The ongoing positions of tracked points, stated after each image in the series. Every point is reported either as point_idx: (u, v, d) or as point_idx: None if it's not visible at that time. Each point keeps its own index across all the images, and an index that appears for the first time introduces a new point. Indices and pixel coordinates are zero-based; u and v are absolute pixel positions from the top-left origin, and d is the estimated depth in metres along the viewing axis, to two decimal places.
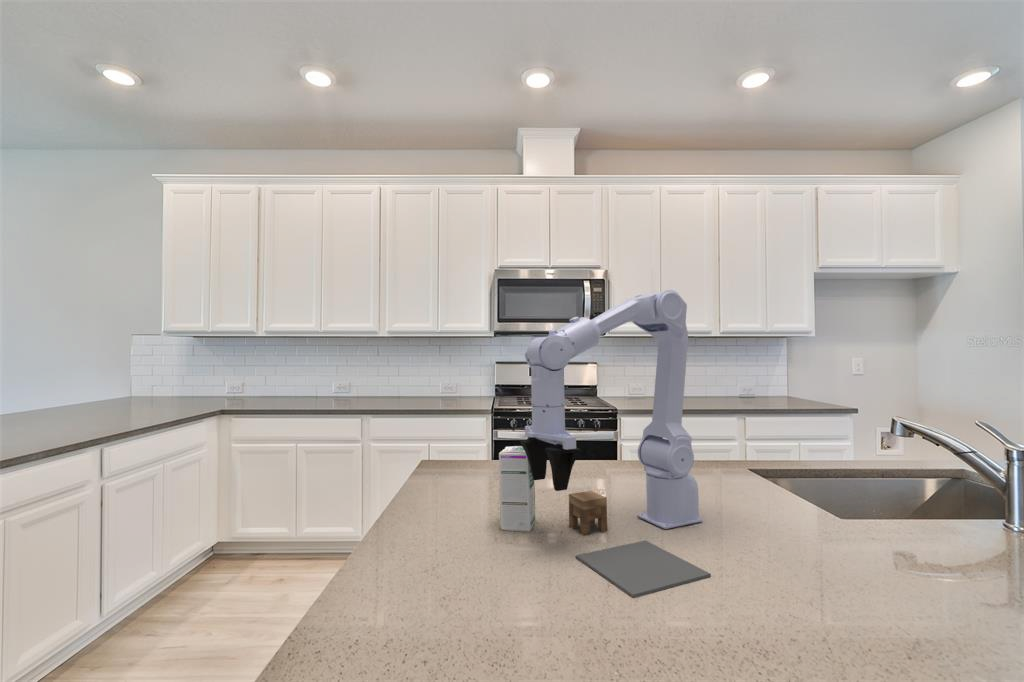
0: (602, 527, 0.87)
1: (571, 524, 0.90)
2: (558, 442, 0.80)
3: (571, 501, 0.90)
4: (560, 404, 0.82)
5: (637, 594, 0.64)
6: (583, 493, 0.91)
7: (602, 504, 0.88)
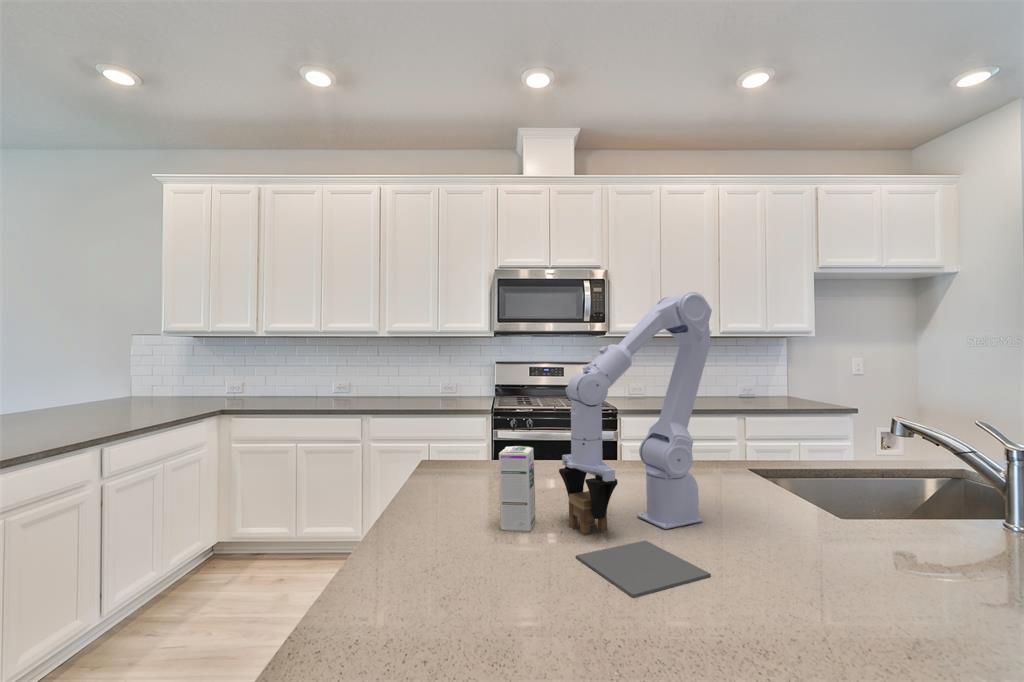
0: (602, 527, 0.87)
1: (571, 524, 0.90)
2: (597, 473, 0.86)
3: (571, 501, 0.90)
4: (597, 438, 0.87)
5: (637, 594, 0.64)
6: (583, 493, 0.91)
7: None
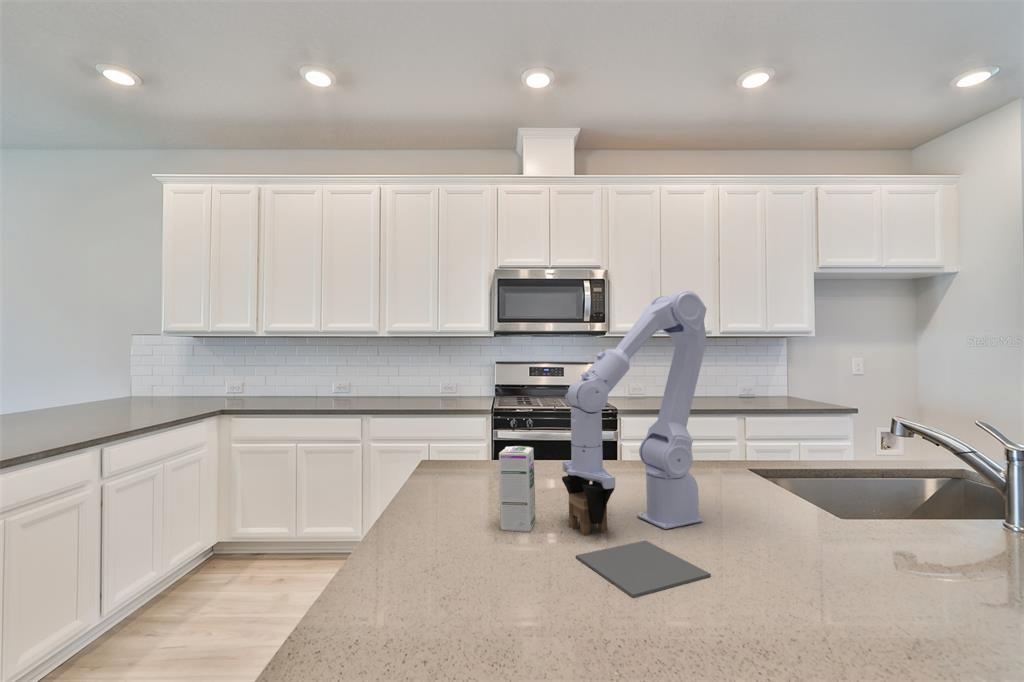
0: (602, 527, 0.87)
1: (571, 524, 0.90)
2: (597, 480, 0.86)
3: (571, 501, 0.90)
4: (597, 445, 0.87)
5: (637, 594, 0.64)
6: (583, 493, 0.91)
7: None
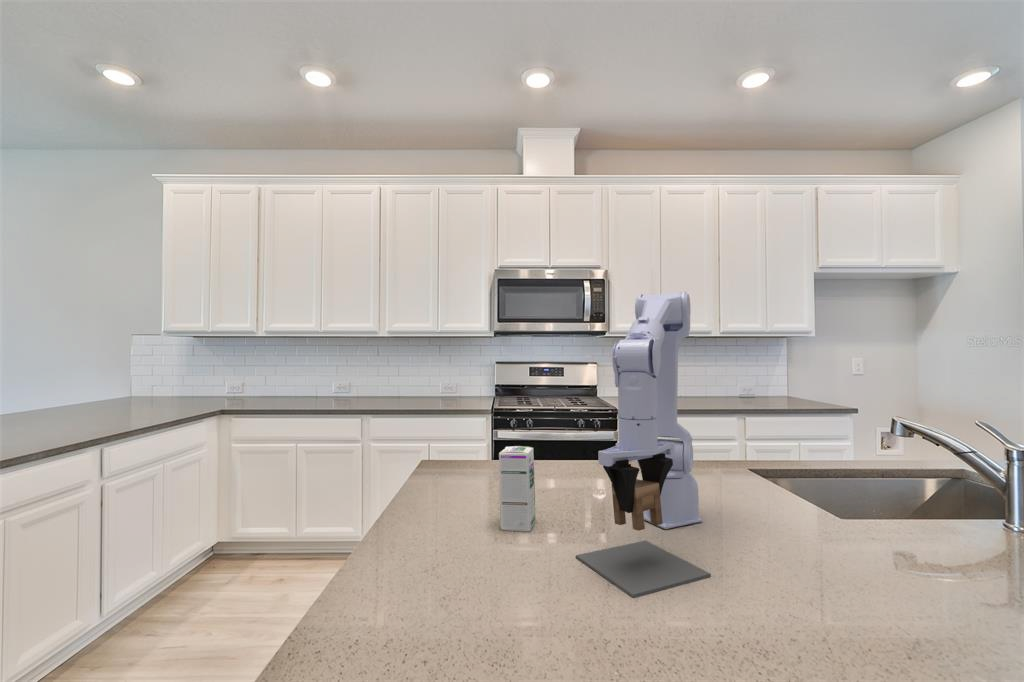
0: (633, 524, 0.71)
1: None
2: None
3: None
4: None
5: (637, 594, 0.64)
6: (641, 481, 0.75)
7: None
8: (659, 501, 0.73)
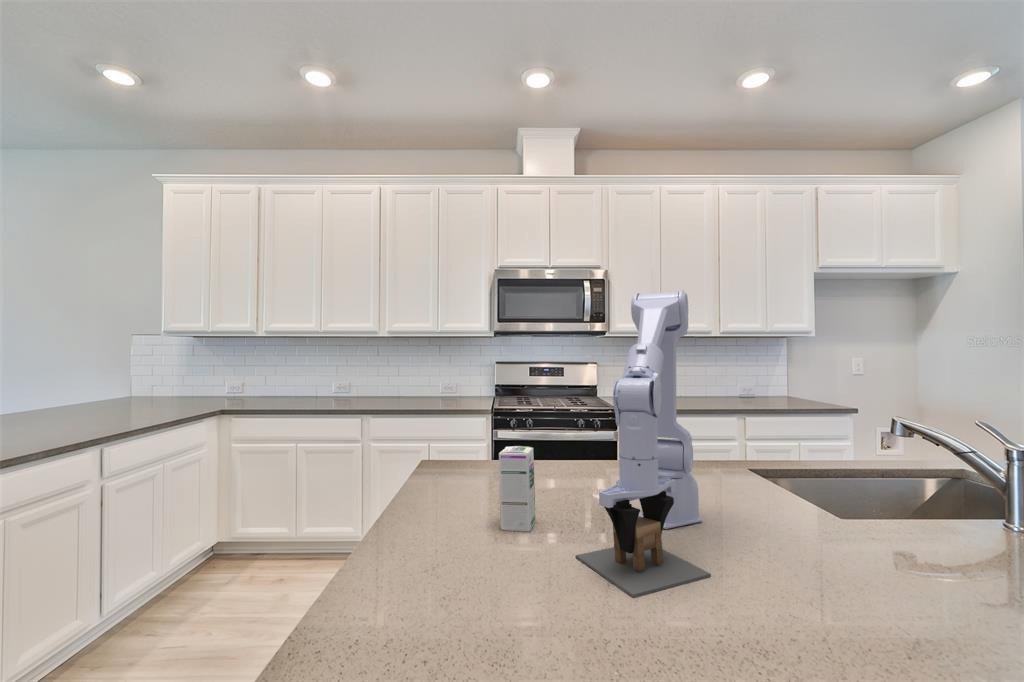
0: (634, 563, 0.71)
1: None
2: (619, 498, 0.71)
3: None
4: None
5: (637, 594, 0.64)
6: (642, 519, 0.74)
7: None
8: (660, 540, 0.72)
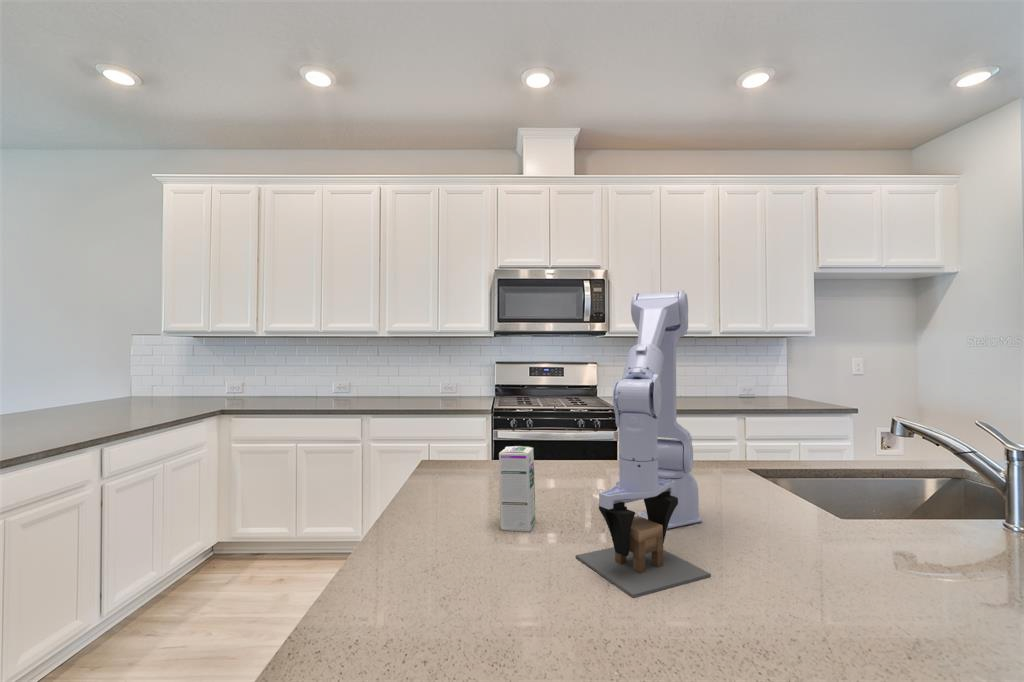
0: (634, 566, 0.70)
1: None
2: None
3: None
4: None
5: (637, 594, 0.64)
6: (645, 521, 0.74)
7: (634, 537, 0.71)
8: (661, 543, 0.72)
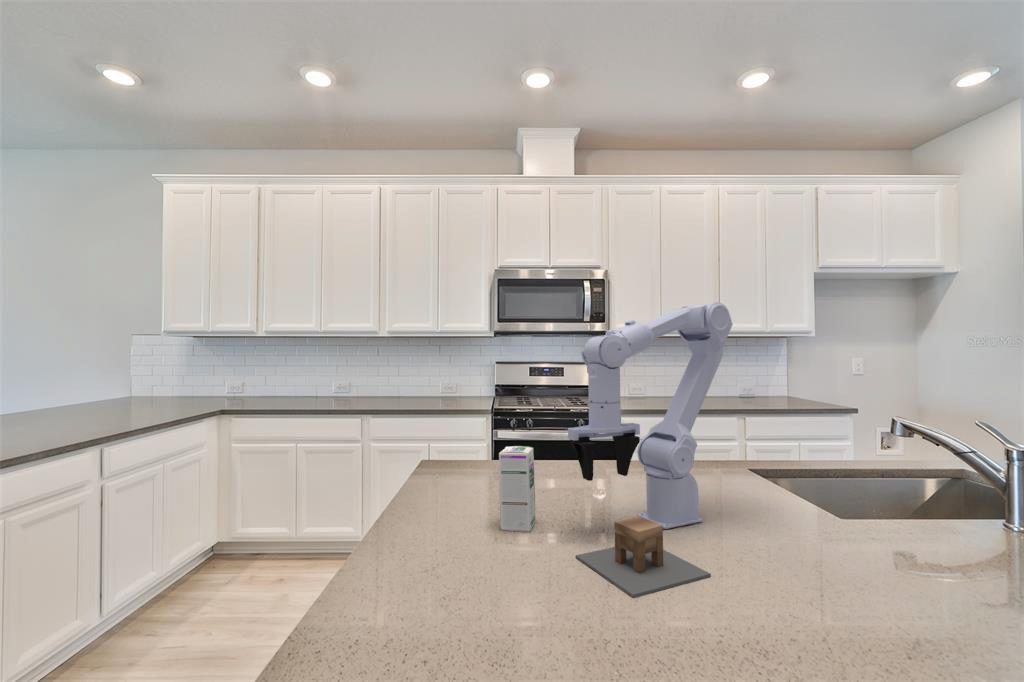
0: (634, 566, 0.70)
1: None
2: None
3: None
4: (617, 400, 0.86)
5: (637, 594, 0.64)
6: (645, 521, 0.74)
7: (634, 537, 0.71)
8: (661, 543, 0.72)
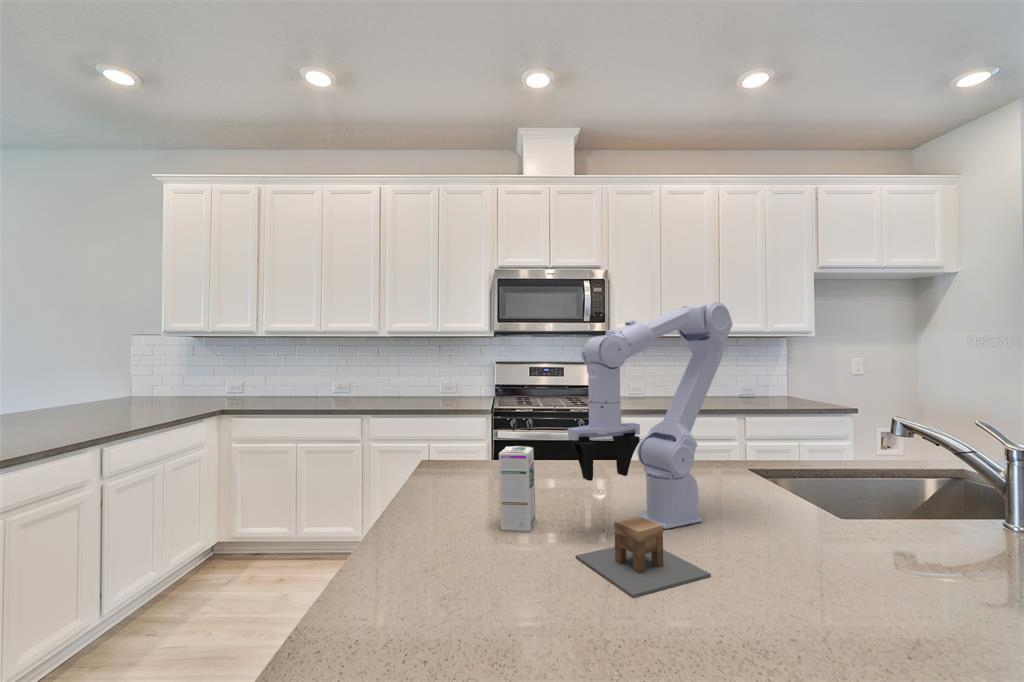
0: (634, 566, 0.70)
1: None
2: None
3: None
4: (617, 400, 0.86)
5: (637, 594, 0.64)
6: (645, 521, 0.74)
7: (634, 537, 0.71)
8: (661, 543, 0.72)
